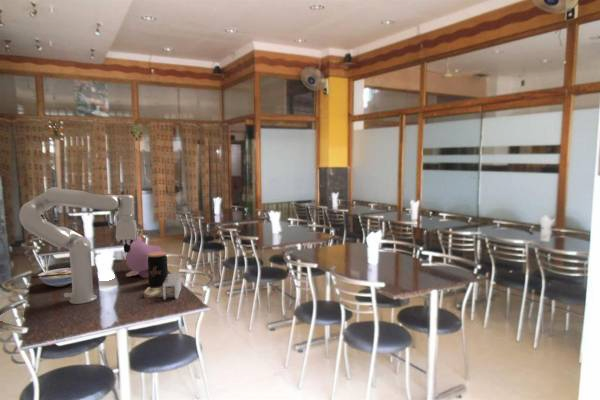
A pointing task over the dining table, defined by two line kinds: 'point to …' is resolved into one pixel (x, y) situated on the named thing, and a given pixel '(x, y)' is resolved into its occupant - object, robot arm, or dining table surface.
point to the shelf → (172, 285)
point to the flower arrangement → (139, 257)
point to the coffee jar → (157, 268)
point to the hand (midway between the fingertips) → (127, 252)
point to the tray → (157, 292)
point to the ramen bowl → (56, 277)
